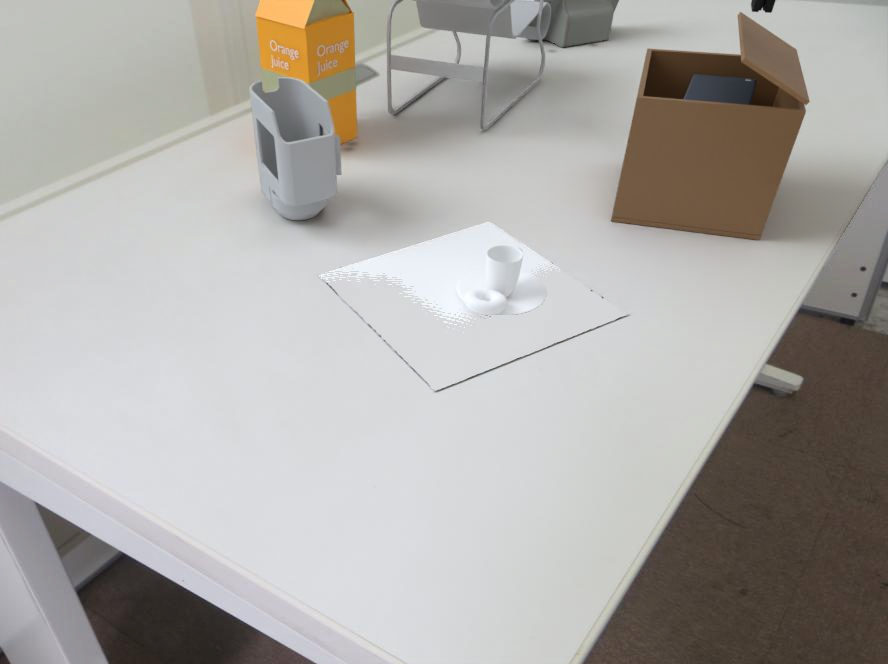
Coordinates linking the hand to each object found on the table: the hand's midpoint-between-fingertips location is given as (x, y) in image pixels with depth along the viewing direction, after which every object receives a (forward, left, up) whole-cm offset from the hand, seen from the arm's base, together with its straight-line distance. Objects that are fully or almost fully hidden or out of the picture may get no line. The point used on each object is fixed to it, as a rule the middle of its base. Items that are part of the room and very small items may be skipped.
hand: (761, 8), depth 68 cm
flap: (-2, 0, -4) cm, 5 cm away
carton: (+2, 0, -19) cm, 19 cm away
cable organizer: (+41, +14, -19) cm, 47 cm away
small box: (+1, -1, -18) cm, 18 cm away
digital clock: (+21, -55, -19) cm, 62 cm away
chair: (+31, -24, -19) cm, 43 cm away
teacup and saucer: (+20, +25, -19) cm, 37 cm away
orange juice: (+47, -5, -19) cm, 51 cm away
